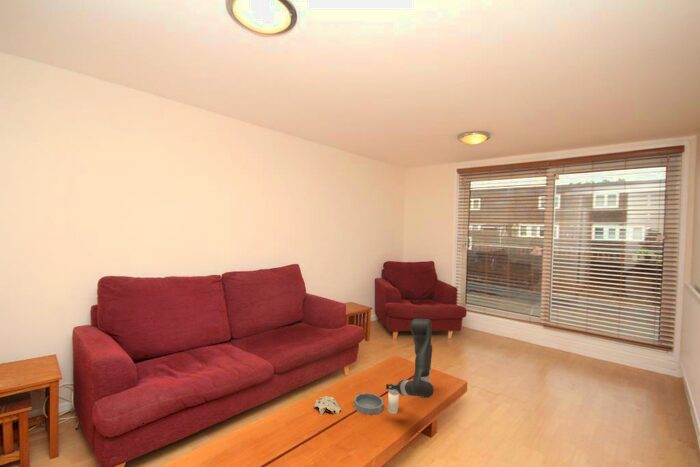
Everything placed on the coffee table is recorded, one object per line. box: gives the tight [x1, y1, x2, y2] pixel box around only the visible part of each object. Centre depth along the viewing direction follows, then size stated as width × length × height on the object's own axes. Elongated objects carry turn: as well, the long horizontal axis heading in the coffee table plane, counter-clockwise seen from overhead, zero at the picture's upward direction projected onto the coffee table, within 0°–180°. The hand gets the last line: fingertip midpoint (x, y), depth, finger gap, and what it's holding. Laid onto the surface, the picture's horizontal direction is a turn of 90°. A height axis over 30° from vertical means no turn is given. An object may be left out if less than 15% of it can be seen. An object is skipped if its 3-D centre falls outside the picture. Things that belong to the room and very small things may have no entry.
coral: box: [313, 395, 342, 415], centre depth 189 cm, size 15×12×5 cm
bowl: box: [353, 392, 384, 416], centre depth 194 cm, size 17×17×4 cm
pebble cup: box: [387, 389, 400, 415], centre depth 190 cm, size 6×6×14 cm
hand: (394, 387), depth 186 cm, fingers open, 8 cm apart
